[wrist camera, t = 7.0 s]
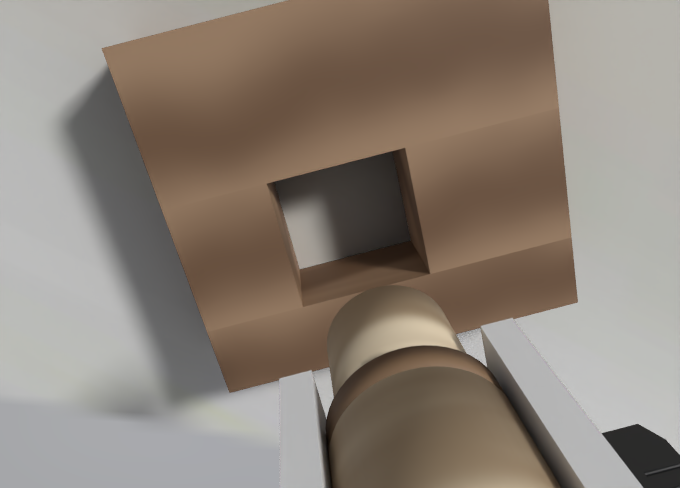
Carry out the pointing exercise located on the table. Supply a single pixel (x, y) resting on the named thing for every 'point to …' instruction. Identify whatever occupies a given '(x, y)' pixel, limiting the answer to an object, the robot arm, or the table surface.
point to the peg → (419, 403)
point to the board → (350, 145)
